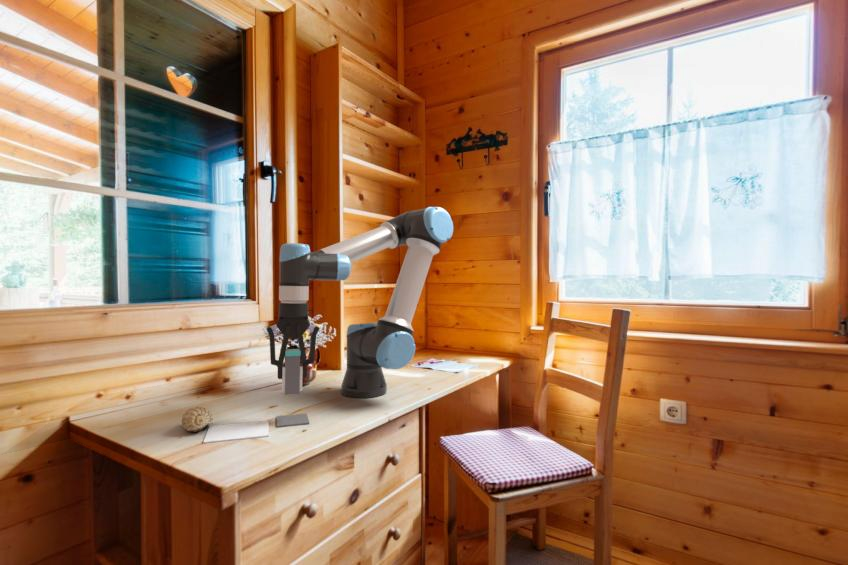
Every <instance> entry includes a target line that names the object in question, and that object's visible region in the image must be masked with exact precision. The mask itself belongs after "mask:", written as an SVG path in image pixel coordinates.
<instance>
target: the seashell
mask: <svg viewBox="0 0 848 565" xmlns="http://www.w3.org/2000/svg"><path fill="white" fill-rule="evenodd" d="M212 421H213V416H212V414H211V413H210V412H209V410H206V408H205V407H201V406H200V407H199V406H195V407H194V408H189V409H188V410H186V411H185V413H184V414H183V415H182V417H181V421H180V422H181V426H183V428H184V430H186V431H187V432H192V433H196V432H200V431H201V430H203V429H205V427H206V426H207V425H213V422H212Z"/></svg>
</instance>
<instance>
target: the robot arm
mask: <svg viewBox="0 0 848 565" xmlns="http://www.w3.org/2000/svg"><path fill="white" fill-rule="evenodd" d="M453 233H454V223H453V220H452V217H451V215H450V214H449V212H448V211H447V210H446V209H445V208H443V207H440V206H428V207H426V208H421V209H415V210H414V209H413V210H409V211H405V212H404V213H401V214H399V215H397V216H394V217H392V218H391V219H388V220H385V221H384V222H381V224H380V226H378V227H376V228H374V229H371V230H368V231H365V232H363V233H360V234H357V235H355V236H352V237H350V238H348V239H345V240H341V241H339V242H337V243H333V244H332V245H331V244H330V245H328V246H327V247H324V248H321V249H319V250H316V251H313V252H312V251H311V249H310V245H309V244H306V243H305V244H304V243H297V242H296V243H294V242H293V243H292V242H288V243H284V244H282V245H281V246H280V250H279V260H278V262H279V285H278V286H279V287H278V300H279V301H280V303H279V304H278V319H277V321H276V322H275V323H276V324H275V323H274V324H273V325H271V326H267V327H266V332H267V333H268V336H269V354H270V355H269V357H270V364H271V366H275V367H277V379H278V380H281V393H285V368H286V367H285V364H284V363H285V351H286V349H287V347H288V343H289V339H291V338H297V341H298V342H297V343H298V347H299V348H298V349H300V351H301V356H300V361H301V364H300V390H299V392H303V379H306V378H307V376H308V374H307V373H308V365H311V364H314V363H315V357H316V343H317V335H318V332H320V331H319V330H320V327H319V325H314V324H311V322H310V320H309V304H308V303H307V302H308V301H309V299H310V298H309V293H310V291H309V290H310V289H309V288H310V281H335V282H338V281H346V280H347V279H348V278H349V277H350V274H351V271H352V263H354V262H356V261H359V260H362V259H364V258H367V257H368V256H371V255H374V254H377V253H379V252H381V251H383V250H385V249H386V250H387V249H391V250H392V249H395V248H398V247H401V246H407V251H406V253H405V257H404V260H403V263H402V265H401V268H400V271H399V274H398V277H397V279H396V283H395V286H394V289H393V291H392V294H391V298H390V300H389V303H388V306H387V309H386V312H385V314H384V316H382V317H380V318H378V320H377V322H367V323H353V324H350V325H348V326H347V331H346V371H345V372H344V376H343V380H342V383H341V386H340V393H341V395H343V396H345V397H349V398H359V399H365V398H375V397H380V396H383V395H385V394H386V393H387V391H388V387H387V382H386V379H385V375H384V372H383V368H384V369H386V370H387V369H388V370H399V369H402V368H404V367H406V366H408V365H409V364H410V362H411V361H412V360H413V358H414V355H415V352H416V344H415V339H414V337H413V335H414V331H415V330H414V328H413V326H412V322H413V319H414V316H415V313H416V309H417V306H418V303H419V302H420V297H421V294H422V291H423V288H424V284H425V282H426V279H427V276H428V272H429V270H430V267H431V264H432V260H433V258H434V256H436V255H438V254H439V253H440V250H441V248H442V245H443V243H447V242H448V241H449V240H450V239H451V238H452V236H453ZM277 329H278V331H280V333H281V334H282V335H283V336H282V342H281V346H280V352H279V356H278V359H276V341H275V340H276V338H275V334H276V333H277ZM308 329H309V332H310V337H309V338H310V340H309V351H308V358H307V354H306V349H305V342H304V338H303V337H304V334H305V333H306V331H307V330H308Z"/></svg>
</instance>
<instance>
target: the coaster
mask: <svg viewBox="0 0 848 565" xmlns="http://www.w3.org/2000/svg"><path fill="white" fill-rule="evenodd" d="M275 417H276V428H283V427H285V428H286V427H292V426H293V427H294V426H295V427H297V426H304V425H305V426H306V425H310V420H309V416H308V413H299V414H298V413H297V414H296V413H295V414H285V415H276V416H275Z"/></svg>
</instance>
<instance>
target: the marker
mask: <svg viewBox="0 0 848 565" xmlns="http://www.w3.org/2000/svg"><path fill="white" fill-rule="evenodd" d="M284 365H285V367H286V368H285V392H284V395H285V396H288V395H300V391H299V390H300V365H301V351H300V348H289V349H287V348H286V351H285V357H284Z"/></svg>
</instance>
